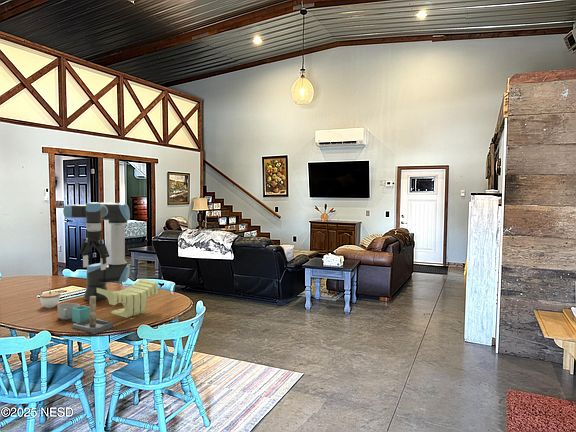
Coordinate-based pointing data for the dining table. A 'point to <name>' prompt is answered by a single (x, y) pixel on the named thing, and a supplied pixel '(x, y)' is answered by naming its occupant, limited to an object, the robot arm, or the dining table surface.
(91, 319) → the dowel
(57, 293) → the lidded jar
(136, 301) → the slatted curved stool
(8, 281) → the dining table surface
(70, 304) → the teacup
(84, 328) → the tray
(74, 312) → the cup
